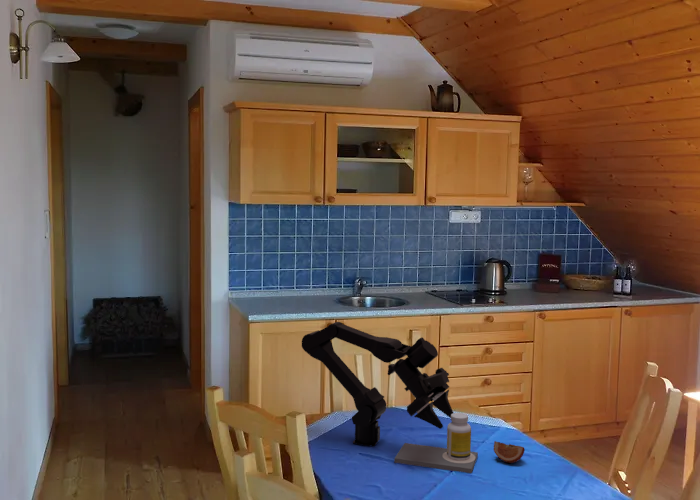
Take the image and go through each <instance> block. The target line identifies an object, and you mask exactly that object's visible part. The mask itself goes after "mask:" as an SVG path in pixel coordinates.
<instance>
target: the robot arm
mask: <svg viewBox="0 0 700 500" xmlns="http://www.w3.org/2000/svg"><path fill="white" fill-rule="evenodd" d="M334 339H338V340H341V341H343V342H346V343H348V344H352V345H353V346H355V347H359V348H361V349H364V350H365V351H368V352H370V353H371V355H373V357H375V358H376V359H378V360H380V361H381V362H383V363H385V364H389V365H387V368H388V369H387V375H388V376H391V375H392V374H394V373H395V374H396V376H397V377H398V378H399V379H400V380H401V382H402V383H403V384H404V385H405V387H404V390H405V391H406V392H408V391H409V392H410V393H411V394H412V396H413V397H414V399H413V401H412V402H411V403H409V404H408V405H407V406H406V412H407V413H408V415H409V416H410V417H412V416H414V418H417V419H420V420H422V421H424V422H427V423H428V424H430V425H432V426H434V427H436V428H437V429H440V430H441V429H443V428H444V425H443V423H442V421H441V420H440V418H439V417H438V415H437V413H436V412H435V410H434V407H435V408H437V410H439V411H441V413H443V414H444V415H446V417H448V418H449V419H451V414H453V413H454V411H453V408H452V406H451V404H450V401H449V392H450V389H449V388H450V386H449V385H448V383H450V379H449V377H448V376H450V373H449V372H447V370H446V369H444V368H443V367H439V368H437V369H436V370H435V373H433V374H432V375H428V374H427V373H426V372H423V373H422V372H421V371H420V369H424V368H425V367H426V366H428V365H429V364H430V363H431V362H432V361H433V360H435V358H437V357H438V356H439V351H438V350H437V347H436V346H435V345H434V344H432V343H431V342H429V340H426V339H424V337H420V338H419V339H417V340H416V341H415V342H414V344H412V345H408V344H405V343H403V342H402V341H400V340H399V339H396V338H391V337H387V336H385V337H384V336H377V335H376V336H375V335H373V334H370V333H367V332H365V331H362V330H359V329H357V328H354V327H351V326H349V325H346V324H344V323H342V322H341V321H335V322H332V323H330V324H328V325H327V326H326V327H324V328H322V329H321V330H315V331H313V332H310V333H307V334H305V335H304V336H303V337H302V339H301V348H302V349H303V351H304V352H305V353H306V354H308V355H309V356H310V357H311V358H313V359H315V360H317V361H319V362H320V363H322V364H323V365H324V366H325V368H327V369H328V371H329V372H330V373H331V375H333V377H334V378H335V379H336V380H337V382H339V384H340V385H341V386H342V387H343V388H344V390H346V391H347V393H348V394H349V395H350V396H351V398H352V399H353V402H354V403H353V404H354V405H355V406H354V407H355V408H356V410H357V412H356V413H354V414H353V416H351V420H352V424H353V425H354V428H355V429H354V440H353V441H352V444H354V445H359V446H365V447H366V446H367V447H375V446H376V445H377V444H378V442H379V441H380V440H381V426H380V425H379V419H381V416H382V415H383V414H385V412H386V410H387V402H386V400H385V395H383V394H381V392H379V390H378V388H377V387H376V386H374V387H372V388H368V387H366V386H365V385H364V384H363V382H362V381H361V380H360V379H359V378H358V377H357V375H356V374H355V373H354V372H353V371H352V369H350V367H348V365H347V364H346V363H345V362H344V360H342V359H341V357H340V356H339V355H338V354H337V352H335V350H334V346H333V342H332V341H333V340H334ZM404 357H405V358H404ZM396 360H397V361H396ZM393 361H396V362H395V363H392V362H393ZM419 368H420V369H419ZM433 406H434V407H433Z"/></svg>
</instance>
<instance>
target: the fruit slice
mask: <svg viewBox="0 0 700 500" xmlns="http://www.w3.org/2000/svg"><path fill="white" fill-rule="evenodd" d="M493 452H494V454H495V455H496V456H497V457H498V459H500V460H501V461H502V462H504V463H509V464H514V463H517V462H518V461H520V460H521V459H522V457H523V456H524V453H525V447H524V446H521V445H515V444H510V443H509V444H507V443H503V442H501V441H496V440H495V441H494V442H493Z"/></svg>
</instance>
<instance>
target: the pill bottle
mask: <svg viewBox="0 0 700 500" xmlns="http://www.w3.org/2000/svg"><path fill="white" fill-rule="evenodd" d="M450 421H451V422H449V423H448V424H447V429H446V431H447V433H446V448H447V455H448V457H450V458H452V459H456V460H465V459H468V458H469V457H470V453H471V452H472V450H471V447H472V446H471V445H472V442H471V441H472V427H471V425H470V424H469V423H468V421H469V414H466V413H464V412H453V414H451V418H450Z"/></svg>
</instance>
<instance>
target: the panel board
mask: <svg viewBox="0 0 700 500" xmlns="http://www.w3.org/2000/svg"><path fill="white" fill-rule="evenodd" d="M478 454H479V452H478V451H477V452H476V451H471V453H470V457H469V458H468V459H465V460H456V459H452V458H450V457H448V455H447V447H439V446H431V445H424V444H416V443H408V442H404V443H403V445H402V446H401V448H400V449H399V451H398V452H397V454H396V455H395V457H394V458H393V459H394V461H393V462H394V463H395V464H403V465H408V466H409V465H411V466H415V467H416V466H418V467H424V468H430V469H431V468H432V469H439V470H444V471H452V472H459V473H460V472H461V473H469V474H472V473H473V470H474V468H475V465H476V462H477V460H478V457H479V455H478Z"/></svg>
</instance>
